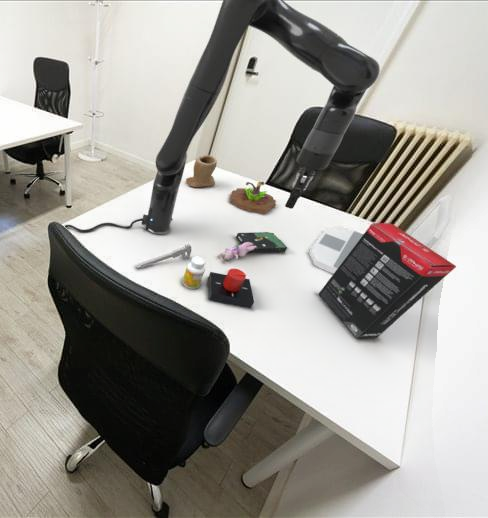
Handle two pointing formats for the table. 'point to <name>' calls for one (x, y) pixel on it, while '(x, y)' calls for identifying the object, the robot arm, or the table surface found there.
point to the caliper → (168, 256)
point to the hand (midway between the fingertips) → (291, 202)
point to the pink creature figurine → (237, 251)
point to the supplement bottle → (194, 272)
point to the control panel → (229, 292)
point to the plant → (252, 199)
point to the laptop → (343, 240)
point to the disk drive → (262, 242)
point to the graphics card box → (382, 279)
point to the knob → (234, 280)
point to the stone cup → (203, 172)
